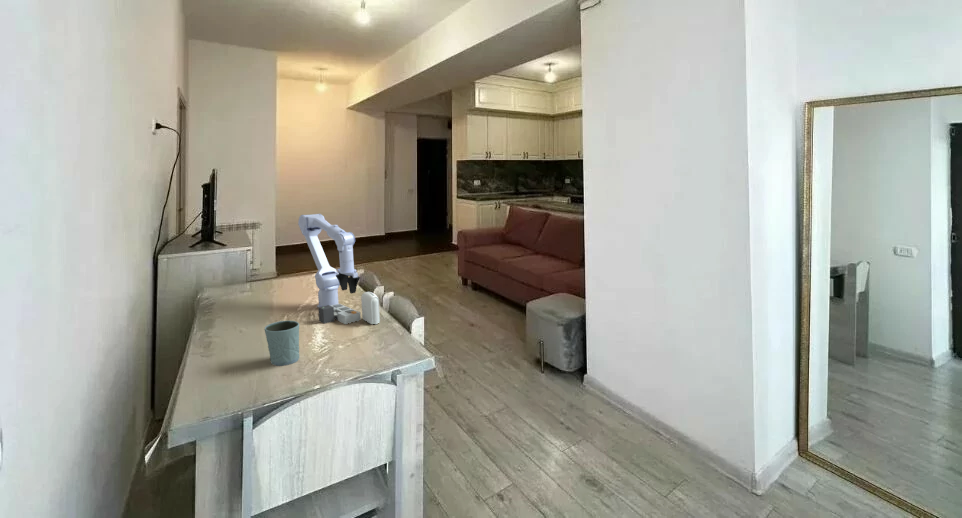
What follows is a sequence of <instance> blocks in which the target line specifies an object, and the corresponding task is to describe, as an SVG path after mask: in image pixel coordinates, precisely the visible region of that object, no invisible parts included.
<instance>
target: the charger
mask: <svg viewBox="0 0 962 518" xmlns="http://www.w3.org/2000/svg"><path fill="white" fill-rule="evenodd" d="M317 308H318V322H320V323H322V324H324V325H325V324H328V323H332V322H333V323H334V322H335V319H334V316H336V315H337V312H335V313H334V307H332V306H329V305H326V306H322V307H317Z"/></svg>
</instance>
